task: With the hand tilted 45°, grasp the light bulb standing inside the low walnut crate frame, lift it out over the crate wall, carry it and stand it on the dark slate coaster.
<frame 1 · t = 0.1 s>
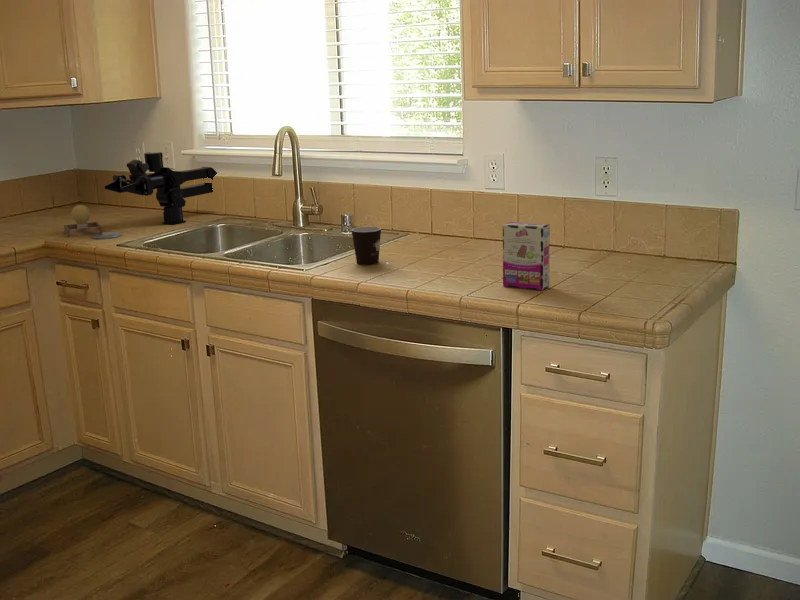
hand: (113, 188, 316), 17 cm above the worktop, tool horizontal, fingers open, 9 cm apart
light bulb: (83, 233, 327), resting in walnut crate
candy bar box: (526, 287, 234), on the worktop
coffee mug: (371, 262, 267), on the worktop
walnut crate: (83, 232, 327), on the worktop
slate coaster: (106, 236, 319), on the worktop
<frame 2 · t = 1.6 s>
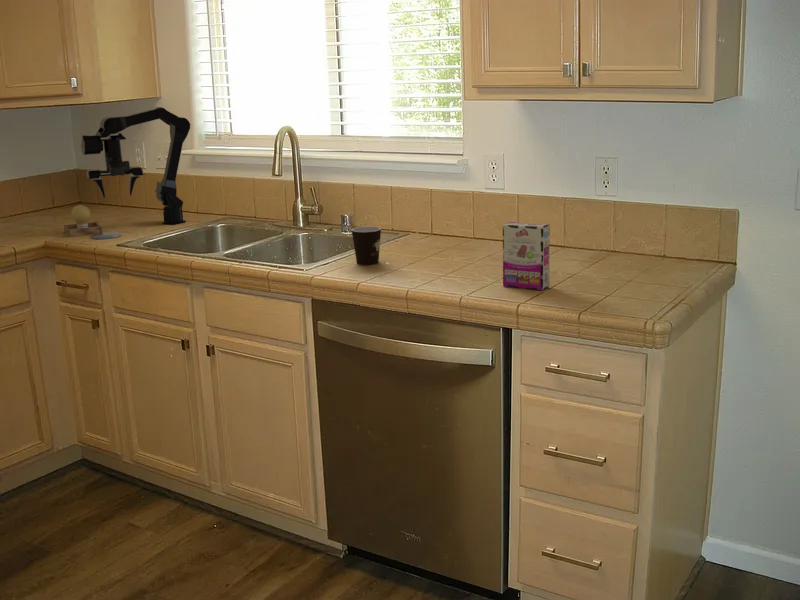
hand: (117, 196, 327), 12 cm above the worktop, tool pointing down, fingers open, 9 cm apart
nothing on the worktop moved.
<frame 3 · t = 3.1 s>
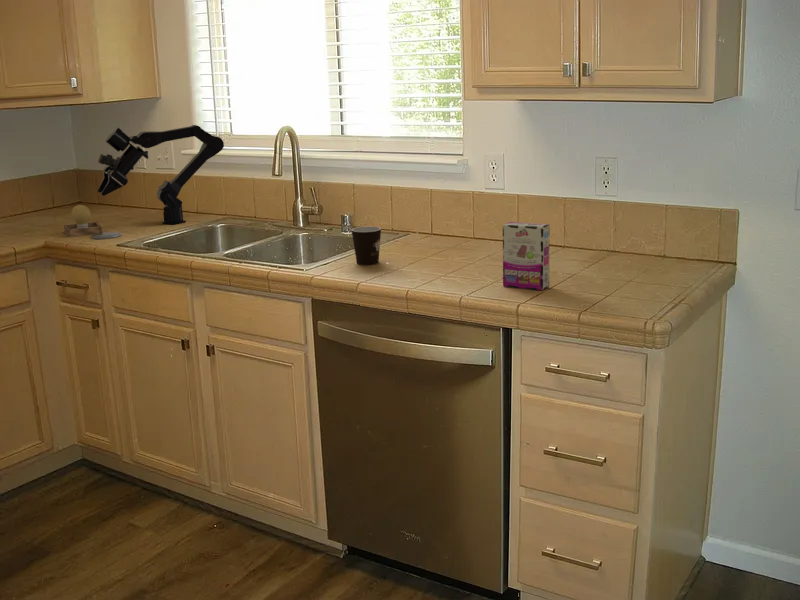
hand: (100, 193, 326), 13 cm above the worktop, tool tilted 45°, fingers open, 9 cm apart
nothing on the worktop moved.
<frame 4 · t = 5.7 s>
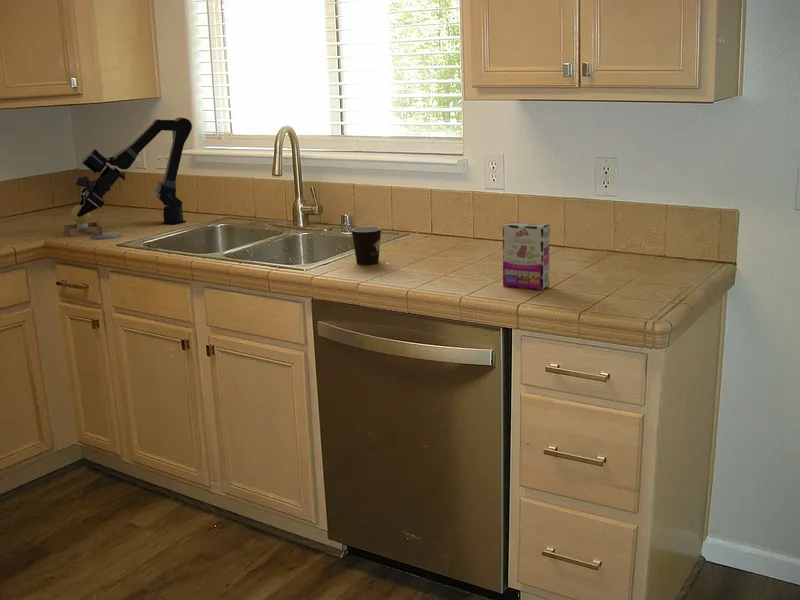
hand: (76, 214, 325), 7 cm above the worktop, tool tilted 45°, fingers closed on light bulb, 6 cm apart
light bulb: (83, 233, 327), resting in walnut crate, touching gripper
everything else where it was.
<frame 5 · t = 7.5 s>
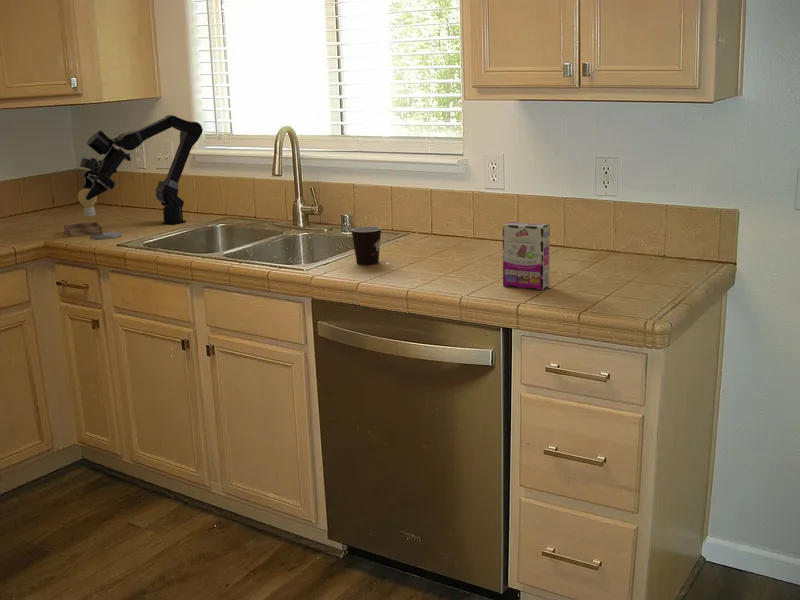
hand: (83, 198, 318), 13 cm above the worktop, tool tilted 45°, fingers closed on light bulb, 6 cm apart
light bulb: (90, 216, 321), point 6 cm above the worktop, touching gripper
everything else where it was.
when the fingers open (8 cm above the worktop, at t = 9.5 s): light bulb stays where it is, resting on slate coaster.
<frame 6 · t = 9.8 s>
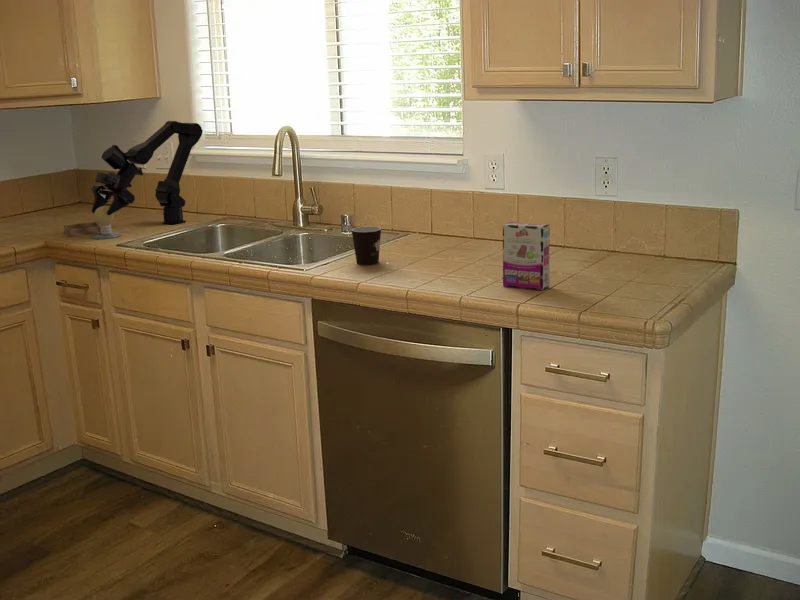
hand: (100, 213, 315), 8 cm above the worktop, tool tilted 45°, fingers open, 9 cm apart
light bulb: (106, 235, 319), resting on slate coaster
everything else where it was.
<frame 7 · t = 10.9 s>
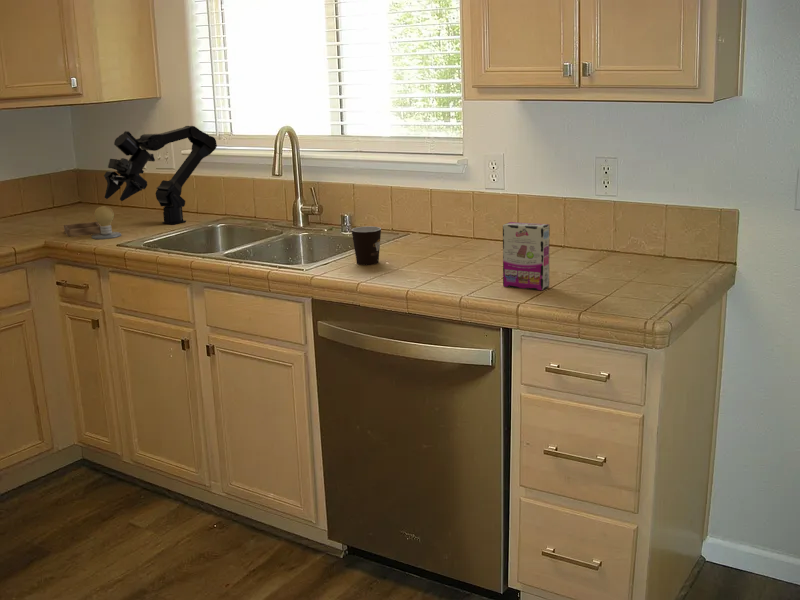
hand: (113, 199, 319), 12 cm above the worktop, tool tilted 45°, fingers open, 9 cm apart
nothing on the worktop moved.
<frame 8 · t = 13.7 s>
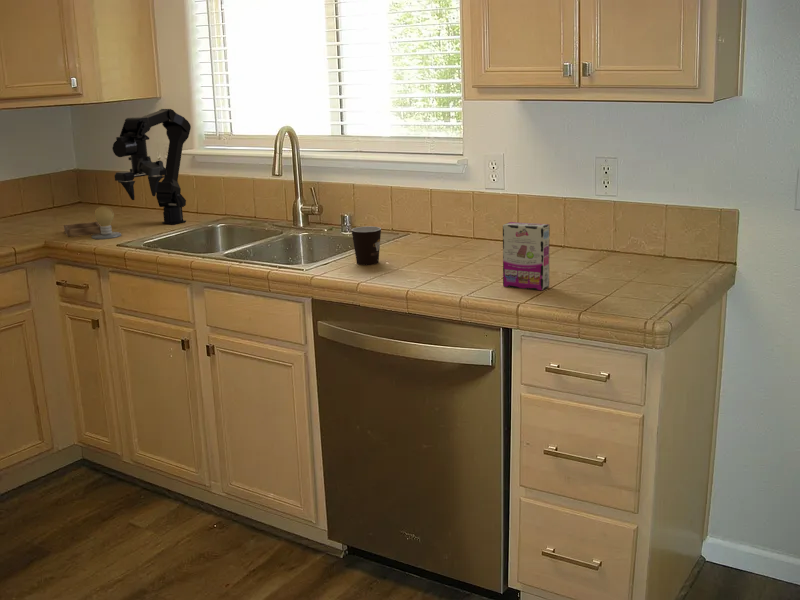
hand: (143, 198, 322), 12 cm above the worktop, tool pointing down, fingers open, 9 cm apart
nothing on the worktop moved.
at the end: light bulb 0.2 cm from the slate coaster (horizontally); light bulb tilted 1°; the gripper is holding nothing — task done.
